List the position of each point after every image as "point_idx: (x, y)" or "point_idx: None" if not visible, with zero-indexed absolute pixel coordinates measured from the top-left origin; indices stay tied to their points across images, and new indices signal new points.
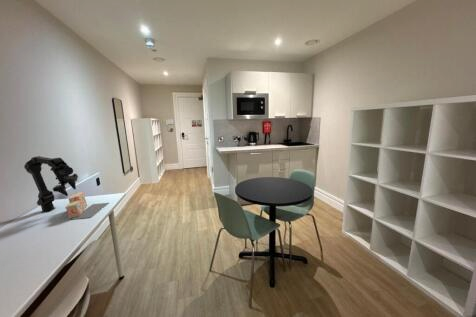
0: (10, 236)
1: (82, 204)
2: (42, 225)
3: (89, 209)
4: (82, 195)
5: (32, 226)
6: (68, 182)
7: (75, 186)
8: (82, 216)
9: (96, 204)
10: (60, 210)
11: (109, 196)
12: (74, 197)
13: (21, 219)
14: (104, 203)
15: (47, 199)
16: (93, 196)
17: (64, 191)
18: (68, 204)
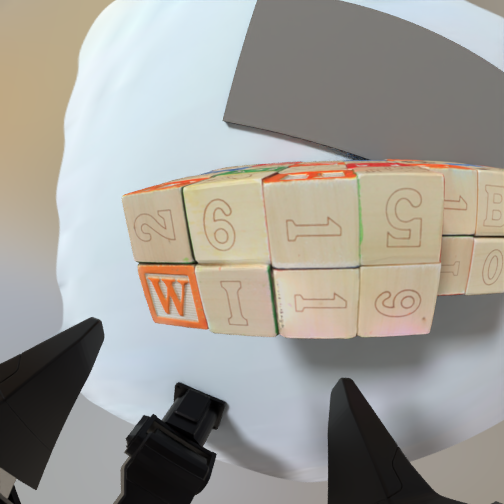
0: (460, 435)
1: (345, 162)
2: (450, 373)
3: (366, 107)
4: (212, 178)
5: (419, 412)
6: (32, 478)
7: (53, 340)
8: (493, 141)
9: (250, 79)
10: (232, 355)
11: (101, 66)
12: (439, 244)
13: (270, 463)
14: (262, 17)
15: (189, 461)
16: (60, 200)
17: (421, 480)
18: (496, 280)
